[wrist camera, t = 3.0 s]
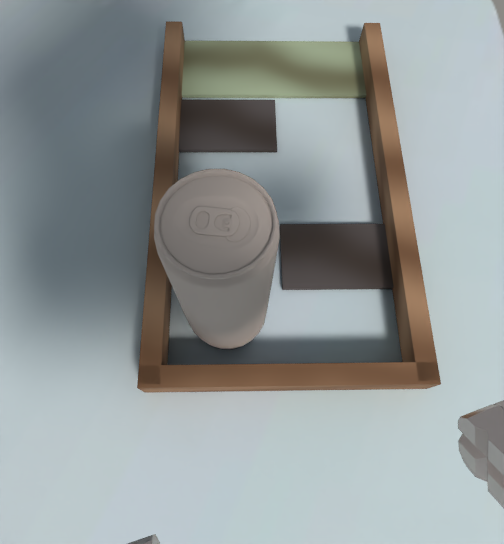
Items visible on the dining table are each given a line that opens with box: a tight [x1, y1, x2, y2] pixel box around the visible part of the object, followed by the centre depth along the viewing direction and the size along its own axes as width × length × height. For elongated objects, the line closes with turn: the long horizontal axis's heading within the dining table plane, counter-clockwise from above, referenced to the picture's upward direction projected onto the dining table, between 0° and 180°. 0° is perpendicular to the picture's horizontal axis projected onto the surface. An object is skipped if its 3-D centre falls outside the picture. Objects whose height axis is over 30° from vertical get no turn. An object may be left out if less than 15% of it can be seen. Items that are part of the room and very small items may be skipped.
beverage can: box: [154, 169, 280, 349], centre depth 22 cm, size 5×5×12 cm
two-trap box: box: [137, 22, 441, 392], centre depth 30 cm, size 27×16×2 cm, turn 1°
